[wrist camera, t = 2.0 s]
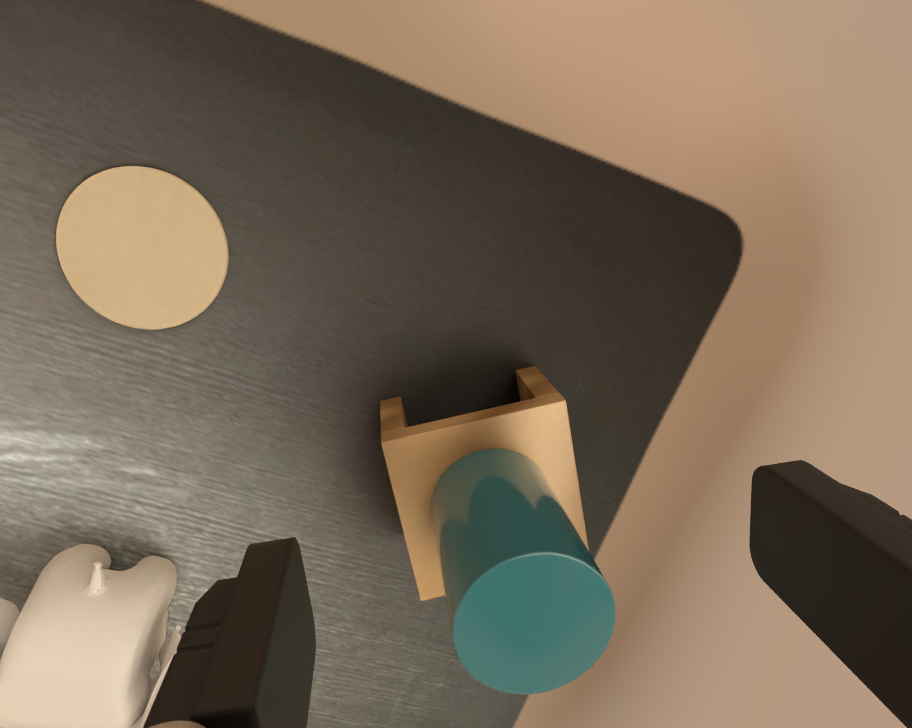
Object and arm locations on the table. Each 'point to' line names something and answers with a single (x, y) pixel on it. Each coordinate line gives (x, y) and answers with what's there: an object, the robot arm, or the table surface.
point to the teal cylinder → (516, 576)
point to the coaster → (142, 247)
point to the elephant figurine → (87, 643)
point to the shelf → (445, 441)
